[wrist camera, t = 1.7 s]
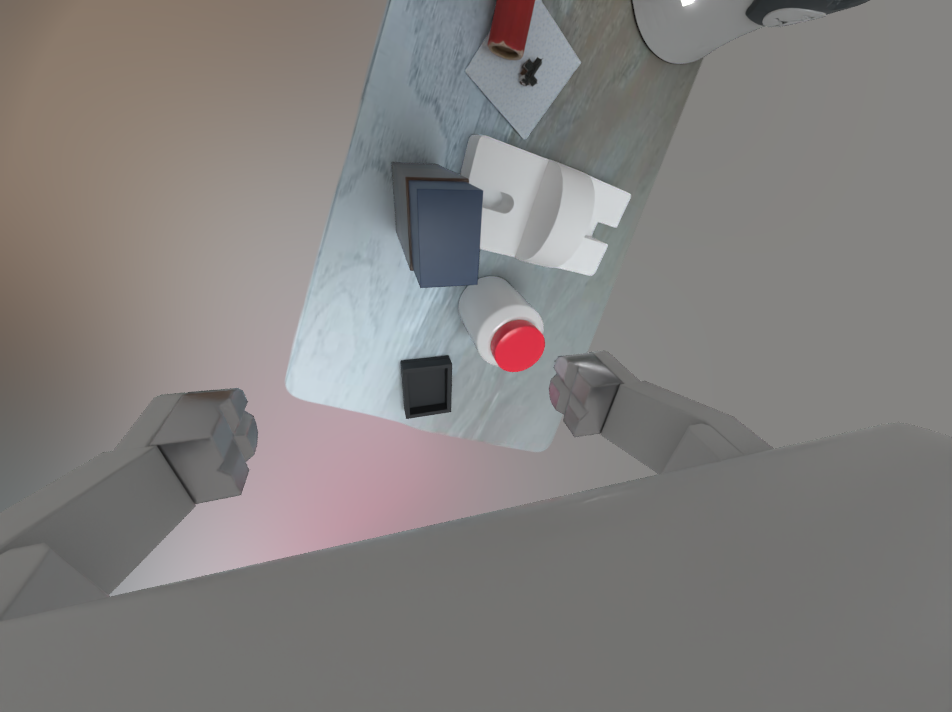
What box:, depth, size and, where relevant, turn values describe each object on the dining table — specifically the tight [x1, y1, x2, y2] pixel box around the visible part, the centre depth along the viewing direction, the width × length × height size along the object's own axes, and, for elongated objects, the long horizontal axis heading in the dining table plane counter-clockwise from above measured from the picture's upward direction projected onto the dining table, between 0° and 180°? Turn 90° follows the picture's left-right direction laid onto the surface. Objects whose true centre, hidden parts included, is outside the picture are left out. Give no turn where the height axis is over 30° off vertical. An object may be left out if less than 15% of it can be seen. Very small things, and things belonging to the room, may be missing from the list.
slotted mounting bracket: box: [460, 135, 631, 276], centre depth 34 cm, size 10×18×9 cm, turn 73°
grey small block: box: [465, 0, 581, 140], centre depth 30 cm, size 8×8×2 cm
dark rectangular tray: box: [401, 356, 452, 419], centre depth 46 cm, size 8×6×2 cm
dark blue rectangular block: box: [409, 180, 483, 288], centre depth 23 cm, size 6×4×4 cm, turn 177°
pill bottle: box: [458, 276, 545, 372], centre depth 39 cm, size 8×8×11 cm
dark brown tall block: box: [391, 162, 469, 271], centre depth 29 cm, size 6×4×12 cm
